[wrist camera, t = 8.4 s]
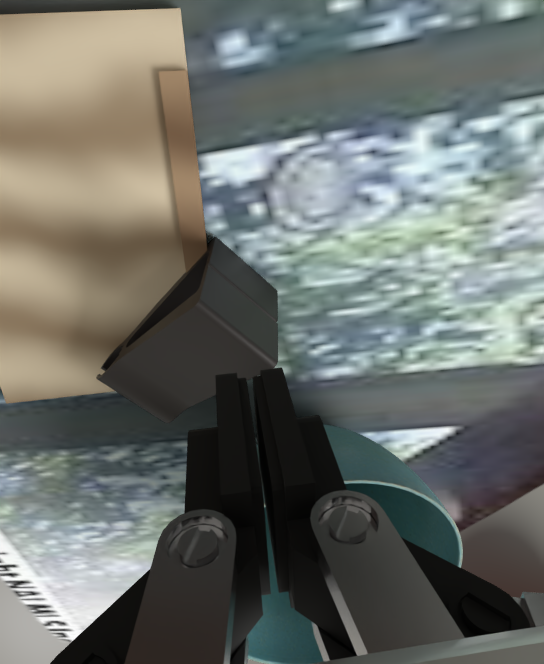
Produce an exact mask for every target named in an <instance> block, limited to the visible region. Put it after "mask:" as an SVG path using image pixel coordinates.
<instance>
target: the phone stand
mask: <svg viewBox="0 0 544 664" xmlns="http://www.w3.org/2000/svg"><path fill="white" fill-rule="evenodd" d="M277 321H278V302H277V290H276V289H275V288H273V287H272V286H271V285H270V284H269V283H268V282H267V281H265V280H264V279H263V278H262V277H261V276H260V275H259V274H258V273H256V272H255V271H254V270H253V269H252V268H251V267H250V266H248V265H247V264H246V263H245V262H244V261H243V260H242V259H241V258H239V257H238V256H237V255H236V254H235V253H234V252H233V251H231V250H230V249H229V248H228V247H227V246H226V245H225V244H224V243H222V242H221V241H220V240H219V239H218V238H217V237H214V238H213V239H212V240H211V242H210V243H209V244H208V245H207V251H206V252H205V253H204V254H203V255H202V256H201V258H200V259H199V260H198V261H197V262H196V263H195V264H194V265H193V266H192V267H191V268H190V270H189V271H188V272H187V273H186V272H185V273H184V274H183V275H182V277H181V278H180V279H179V280H178V281H177V282H176V283H175V284H174V285H173V286H172V287H171V289H170V290H169V291H168V292H167V293H166V294H165V295H164V296H163V297H162V298H161V299H160V301H159V302H158V303H157V304H156V305H155V306H154V308H153V309H152V310H151V311H150V312H149V313H148V314H147V316H146V317H145V318H144V319H143V320H142V321H141V323H140V324H139V325H138V326H137V327H136V328H135V329H134V331H133V332H132V333H131V334H130V335H129V336H128V337H127V338H126V339H125V340H124V341H123V342H122V343H121V344H120V345H119V346H118V347H117V348H116V349H115V350H114V351H113V352H112V353H111V354H110V356H109V357H108V358H107V359H106V361H105V362H104V364H103V365H102V367H101V369H102V370H104V371H105V372H104V373H103V374H102V375H100V374H98V375H97V376H96V379H97V380H99V381H101V382H102V383H104V384H105V385H107V386H108V387H110V388H111V389H113V390H115V391H116V392H118V393H119V394H121V395H122V396H124V397H125V398H127V399H129V400H130V401H132V402H133V403H135V404H136V405H138V406H139V407H141V408H143V409H144V410H146V411H147V412H149V413H150V414H152V415H154V416H155V417H157V418H158V419H160V420H161V421H163V422H164V423H170V422H172V421H173V420H174V419H175V418H176V417H177V416H178V415H179V414H181V413H182V412H183V411H184V410H186V409H187V408H189V407H191V406H193V405H195V404H197V403H199V402H201V401H204V400H206V399H208V398H210V397H212V396H214V395H216V379H215V375H219V374H228V373H237V378H244V377H246V381H247V380H249V379H251V378H253V376H258V375H260V370H265V369H273V368H274V367H275V366H276V364H277V362H278V324H277V323H276V322H277Z"/></svg>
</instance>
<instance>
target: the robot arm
mask: <svg viewBox="0 0 544 664" xmlns="http://www.w3.org/2000/svg"><path fill="white" fill-rule="evenodd" d="M215 379H216V402H217V425H218V427H215V428H206V429H198V430H189V432H188V447H187V470H186V493H185V514H182V515H180V516H179V517H177V518H176V519H174V520H173V521H171V522H170V523H169V524H168V526H167V527H166V528H165V529H164V530H163V532H162V534H161V536H160V538H159V540H158V544H157V547H156V551H155V555H154V558H153V562H152V566H151V569H150V570H149V571H148V572H146V573H145V574H144V575H143V576H142V577H141V578H140V579H139V580H138V581H137V582H136V583H135V584H134V585H133V586H131V587H130V588H129V589H128V590H127V591H126V592H125V593H124V594H123V595H122V596H121V597H120V598H119V599H118V600H116V601H115V602H114V603H113V604H112V605H111V606H110V607H109V608H108V609H107V610H106V611H105V612H104V613H102V614H101V615H100V616H99V617H98V618H97V619H96V620H95V621H94V622H93V623H92V624H91V625H90V626H89V627H87V628H86V629H85V630H84V631H83V632H82V633H81V634H80V635H79V636H78V637H77V638H76V639H75V640H73V641H72V642H71V643H70V644H69V645H68V646H67V647H66V648H65V649H64V650H63V651H62V652H61V653H60V654H58V655H57V656H56V658H55V659H54V660H53V661H52V662H51V663H50V664H248V648H249V642H248V634H249V632H250V631H251V630H252V629H253V627H254V626H255V625H256V623H257V622H258V621H259V620H260V618H261V617H262V616H263V607H262V595H269V594H271V589H270V575H269V562H268V549H267V536H266V523H265V510H264V499H265V506H266V512H267V519H268V526H269V532H270V539H271V545H272V552H273V559H274V565H275V572H276V578H277V585H278V591H279V593H282V592H288V593H289V599H290V605H291V608H295V610H296V611H297V612H299V613H300V614H302V615H303V616H304V617H306V618H307V619H309V620H310V621H312V627H313V632H314V636H315V639H316V641H317V644H318V647H319V650H320V652H321V655H322V658H323V661H324V662H318V663H312V664H544V593H543V594H542V593H530V592H523V593H522V596H521V598H515V597H511V596H510V595H509V594H507V593H506V592H504V591H503V590H501V589H500V588H498V587H497V586H495V585H493V584H491V583H489V582H487V581H485V580H483V579H481V578H479V577H477V576H475V575H474V574H472V573H470V572H468V571H466V570H464V569H462V568H460V567H458V566H456V565H454V564H452V563H450V562H448V561H446V560H444V559H442V558H441V557H439V556H437V555H435V554H433V553H431V552H429V551H427V550H425V549H423V548H421V547H419V546H417V545H415V544H413V543H411V542H409V541H408V540H406V539H404V538H402V537H400V535H399V534H398V532H397V530H396V529H395V527H394V526H393V524H392V523H391V521H390V520H389V518H388V516H387V515H386V513H385V512H384V510H383V509H382V508H381V506H380V505H379V504H378V503H377V502H376V501H375V500H373V499H372V498H370V497H369V496H367V495H365V494H362V493H359V492H356V491H348V490H347V488H346V486H345V483H344V480H343V477H342V475H341V472H340V469H339V466H338V464H337V461H336V458H335V455H334V453H333V450H332V447H331V444H330V442H329V439H328V436H327V433H326V431H325V428H324V425H323V422H322V420H321V418H320V416H319V415H315V416H307V417H298V418H296V414H295V411H294V407H293V404H292V400H291V397H290V393H289V390H288V387H287V383H286V380H285V376H284V373H283V369H282V368H274V369H265V370H260V376H253V390H254V403H255V415H256V428H257V441H258V453H257V447H256V440H255V434H254V427H253V420H252V414H251V407H250V401H249V394H248V388H247V381H246V377H244V378H237V373H228V374H219V375H215ZM258 454H259V460H258ZM259 465H260V467H259ZM262 486H263V488H262ZM263 493H264V497H263Z"/></svg>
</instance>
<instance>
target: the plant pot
mask: <svg viewBox="0 0 544 664" xmlns="http://www.w3.org/2000/svg"><path fill="white" fill-rule="evenodd" d="M323 425H324V424H323ZM324 428H325V431H326V433H327V436H328V439H329V442H330V444H331V447H332V450H333V453H334V455H335V458H336V461H337V464H338V466H339V469H340V472H341V475H342V477H343V480H344V483H345V486H346V488H347V490H348V491H356V492H359V493H362V494H365V495H367V496H369V497H370V498H372V499H373V500H375V501H376V502H377V503H378V504H379V505H380V506H381V508H382V509H383V510H384V512H385V513H386V515H387V516H388V518H389V520H390V521H391V523H392V524H393V526H394V527H395V529H396V530H397V532H398V534H399V535H400V537H402V538H404V539H406V540H408V541H409V542H411V543H413V544H415V545H417V546H419V547H421V548H423V549H425V550H427V551H429V552H431V553H433V554H435V555H437V556H439V557H441V558H442V559H444V560H446V561H448V562H450V563H452V564H454V565H456V566H458V567H460V568H461V564H462V556H463V549H462V541H461V537H460V533H459V531H458V528H457V526H456V524H455V522H454V521H453V519H452V518H451V516H450V515H449V513H448V512H447V510H446V509H445V507H444V506H443V505H442V503H441V502H440V501H439V499H438V498H437V497H436V496H435V494H434V493H433V492H432V491H431V490H430V489H429V487H428V486H427V485H426V484H425V483H424V482H423V481H422V480H421V479H420V478H419V476H418V475H417V474H416V473H414V472H413V471H412V470H411V469H410V468H409V467H408V466H407V465H406V464H405V463H403V462H402V461H401V460H400V459H399V458H397V457H396V456H395V455H393V454H392V453H391V452H389V451H388V450H386V449H385V448H384V447H382V446H381V445H379V444H377V443H376V442H374V441H372V440H370V439H368V438H366V437H364V436H362V435H360V434H358V433H356V432H353V431H350V430H347V429H344V428H340V427H336V426H330V425H324ZM256 447H257V453H258V444H256ZM258 460H259V454H258ZM259 467H260V465H259ZM262 488H263V486H262ZM263 497H264V493H263ZM264 510H265V523H266V536H267V549H268V562H269V575H270V589H271V594H269V595H262V607H263V616H262V617H261V618H260V620H259V621H258V622H257V623H256V625H255V626H254V627H253V629H252V630H251V631H250V632H249V634H248V642H249V648H248V659H250V660H253V661H257V662H260V663H265V664H312V663H318V662H324V661H323V658H322V655H321V652H320V650H319V647H318V644H317V641H316V639H315V636H314V632H313V627H312V621H310V620H309V619H307V618H306V617H304V616H303V615H302V614H300V613H299V612H297V611H296V610H295V608H291V605H290V599H289V593H288V592H282V593H279V591H278V585H277V578H276V572H275V565H274V559H273V552H272V545H271V539H270V532H269V526H268V519H267V512H266V506H265V499H264Z"/></svg>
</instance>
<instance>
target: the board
mask: <svg viewBox="0 0 544 664" xmlns="http://www.w3.org/2000/svg"><path fill="white" fill-rule="evenodd" d="M206 251H207V240H206V231H205V222H204V213H203V204H202V196H201V187H200V178H199V169H198V160H197V151H196V142H195V133H194V124H193V116H192V107H191V98H190V89H189V80H188V71H187V62H186V53H185V45H184V36H183V27H182V18H181V10H180V8H174V9H146V10H118V11H90V12H62V13H33V14H5V15H0V387H1V390H2V392H3V395H4V398H5V401H6V403H15V402H24V401H33V400H42V399H51V398H60V397H69V396H78V395H87V394H95V393H104V392H113V391H115V390H113V389H111V388H110V387H108V386H107V385H105V384H104V383H102V382H101V381H99V380H97V379H96V376H97V375H98V374H100V375H102V374H103V373H104V372H105V371H104V370H102V369H101V367H102V365H103V364H104V362H105V361H106V359H107V358H108V357H109V356H110V354H111V353H112V352H113V351H114V350H115V349H116V348H117V347H118V346H119V345H120V344H121V343H122V342H123V341H124V340H125V339H126V338H127V337H128V336H129V335H130V334H131V333H132V332H133V331H134V329H135V328H136V327H137V326H138V325H139V324H140V323H141V321H142V320H143V319H144V318H145V317H146V316H147V314H148V313H149V312H150V311H151V310H152V309H153V308H154V306H155V305H156V304H157V303H158V302H159V301H160V299H161V298H162V297H163V296H164V295H165V294H166V293H167V292H168V291H169V290H170V289H171V287H172V286H173V285H174V284H175V283H176V282H177V281H178V280H179V279H180V278H181V277H182V275H183V274H184V273H185V272H186V273H187V272H188V271H189V270H190V268H191V267H192V266H193V265H194V264H195V263H196V262H197V261H198V260H199V259H200V258H201V256H202V255H203V254H204V253H205V252H206Z"/></svg>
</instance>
